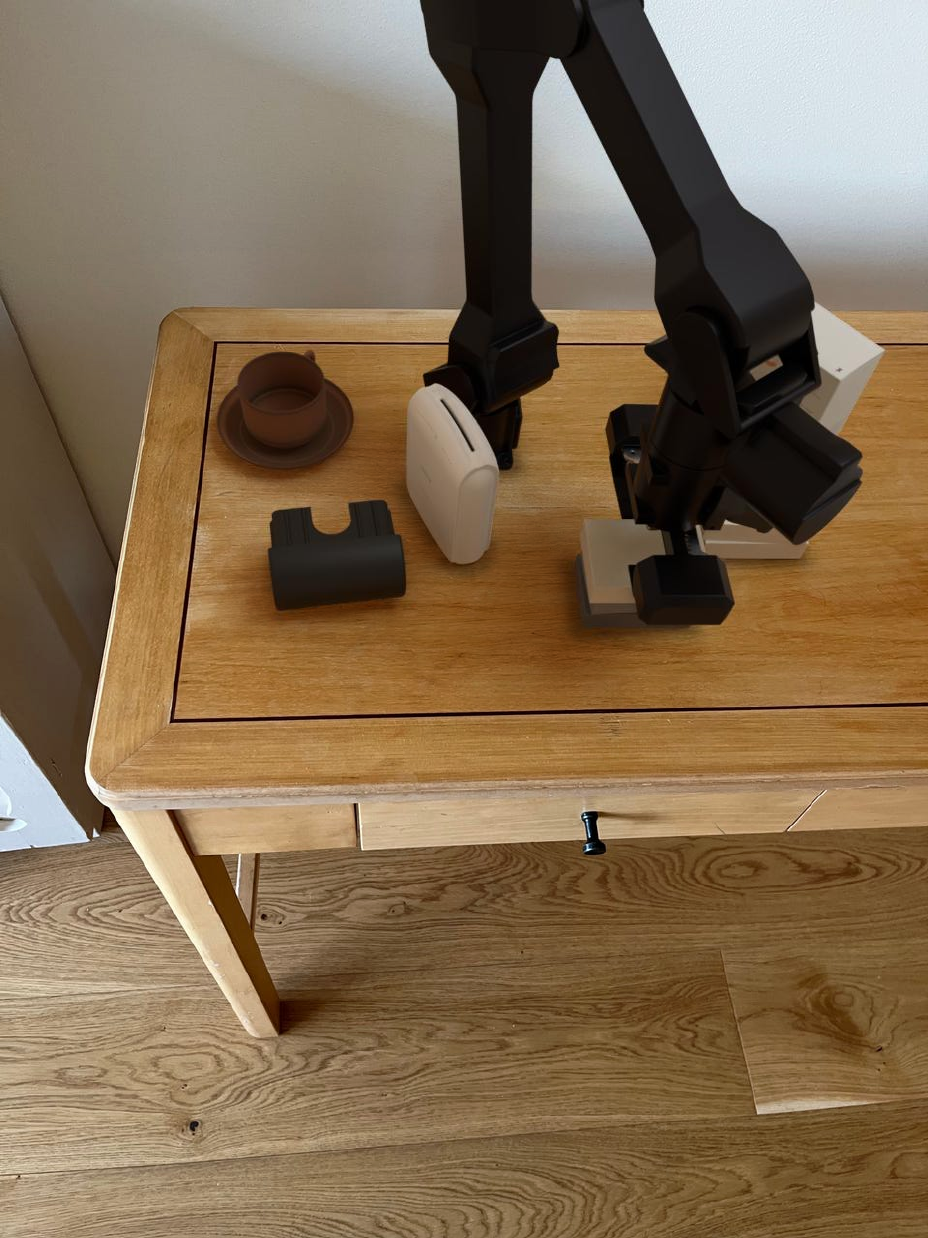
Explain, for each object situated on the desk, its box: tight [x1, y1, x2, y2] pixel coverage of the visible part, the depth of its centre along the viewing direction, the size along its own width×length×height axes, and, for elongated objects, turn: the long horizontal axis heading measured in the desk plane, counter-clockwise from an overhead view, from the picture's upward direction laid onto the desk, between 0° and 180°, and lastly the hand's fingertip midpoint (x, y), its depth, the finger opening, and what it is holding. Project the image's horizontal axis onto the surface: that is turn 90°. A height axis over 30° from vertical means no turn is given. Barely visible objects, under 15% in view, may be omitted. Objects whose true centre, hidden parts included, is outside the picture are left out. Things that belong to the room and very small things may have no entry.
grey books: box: [572, 548, 692, 629], centre depth 75 cm, size 9×6×4 cm
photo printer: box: [405, 384, 500, 565], centre depth 75 cm, size 10×4×12 cm, turn 26°
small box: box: [750, 301, 886, 436], centre depth 82 cm, size 8×6×13 cm
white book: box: [579, 518, 706, 603], centre depth 72 cm, size 9×7×2 cm
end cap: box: [267, 499, 407, 612], centre depth 72 cm, size 10×7×7 cm
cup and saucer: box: [216, 349, 355, 472], centre depth 81 cm, size 12×12×6 cm
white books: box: [699, 520, 810, 560], centre depth 80 cm, size 9×6×4 cm
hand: (639, 575), depth 74 cm, fingers closed on white book, 6 cm apart
